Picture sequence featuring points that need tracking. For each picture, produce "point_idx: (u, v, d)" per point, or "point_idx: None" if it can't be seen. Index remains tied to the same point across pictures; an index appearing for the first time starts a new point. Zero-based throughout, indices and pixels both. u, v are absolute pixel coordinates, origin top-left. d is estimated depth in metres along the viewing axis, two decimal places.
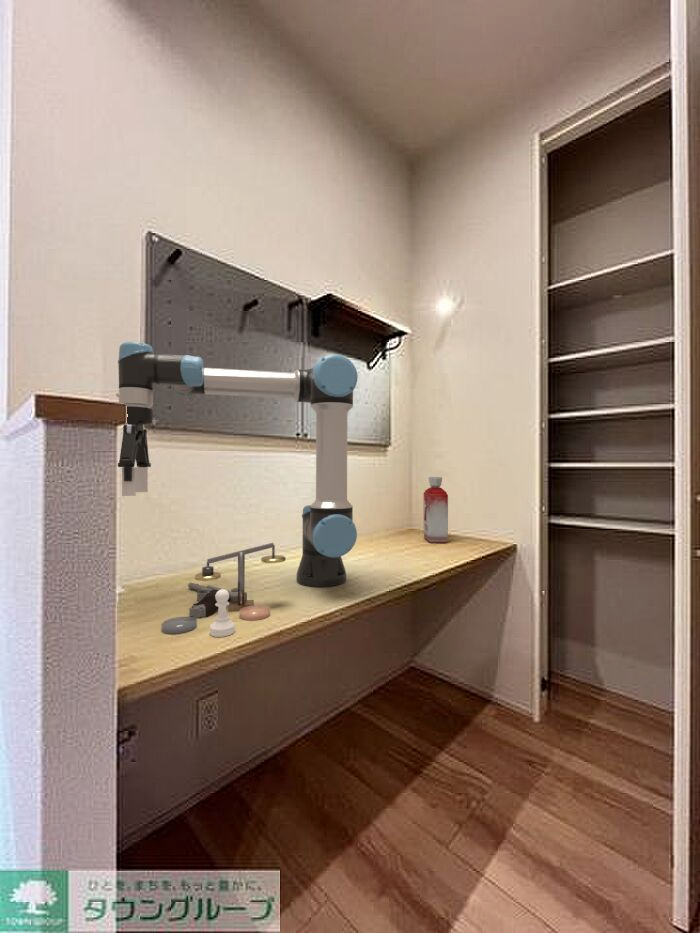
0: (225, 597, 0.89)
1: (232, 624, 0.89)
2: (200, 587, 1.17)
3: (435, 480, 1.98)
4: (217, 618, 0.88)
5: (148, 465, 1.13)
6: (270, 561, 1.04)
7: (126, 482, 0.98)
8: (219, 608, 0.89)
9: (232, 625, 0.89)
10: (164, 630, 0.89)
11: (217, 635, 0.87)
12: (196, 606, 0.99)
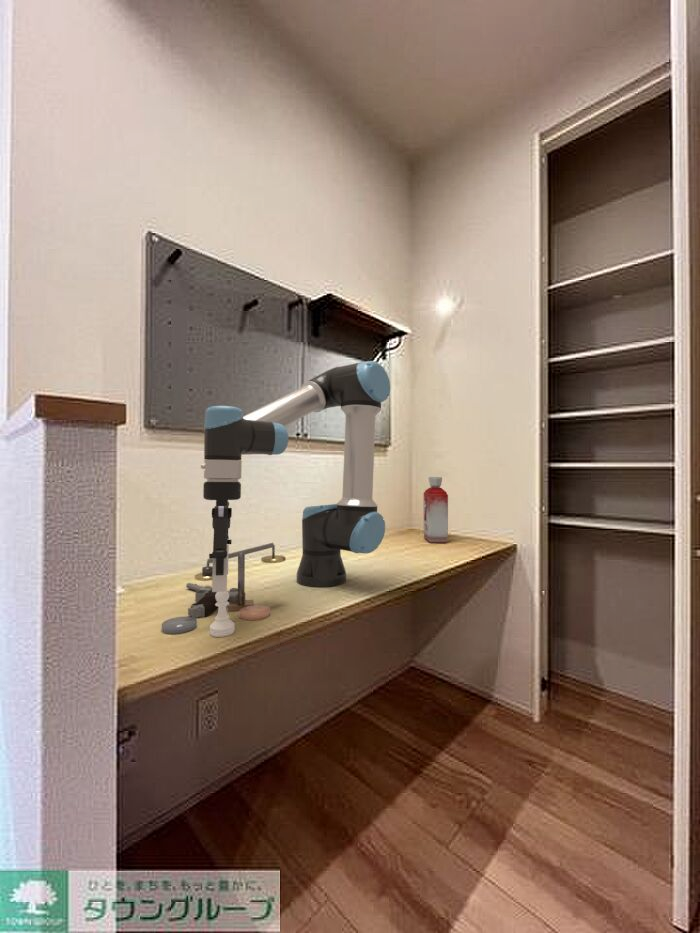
0: (225, 597, 0.89)
1: (232, 624, 0.89)
2: (198, 587, 1.17)
3: (435, 480, 1.98)
4: (217, 618, 0.88)
5: (229, 542, 0.97)
6: (270, 561, 1.04)
7: (217, 575, 0.82)
8: (219, 608, 0.89)
9: (232, 625, 0.89)
10: (164, 630, 0.89)
11: (217, 635, 0.87)
12: (195, 606, 0.99)
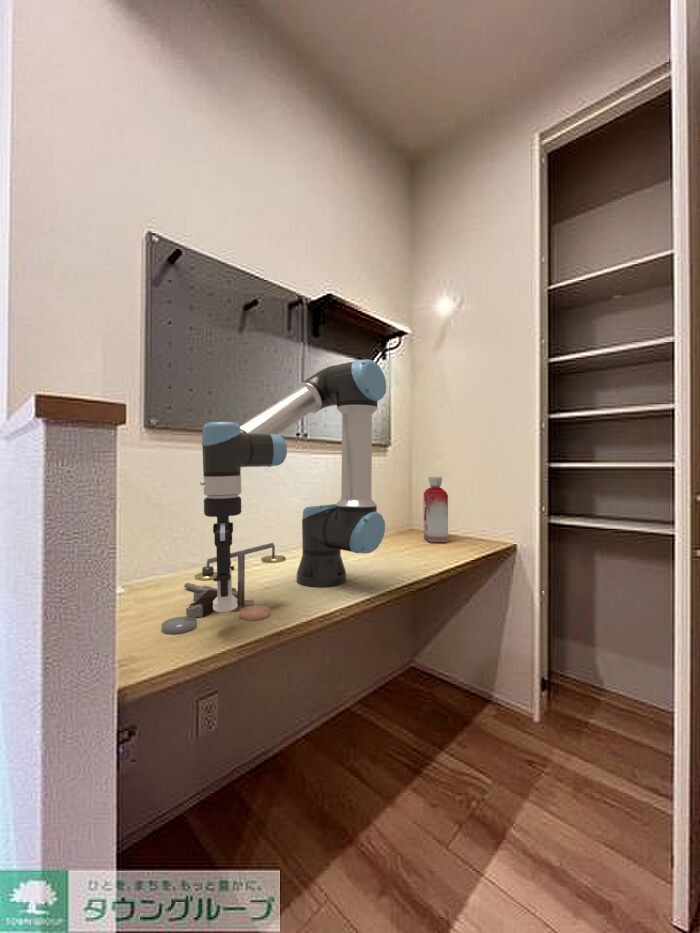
0: None
1: (235, 599, 0.90)
2: (196, 587, 1.17)
3: (435, 480, 1.98)
4: None
5: (231, 568, 0.94)
6: (270, 561, 1.04)
7: (222, 597, 0.87)
8: None
9: (235, 600, 0.90)
10: (164, 630, 0.89)
11: None
12: (193, 606, 0.99)
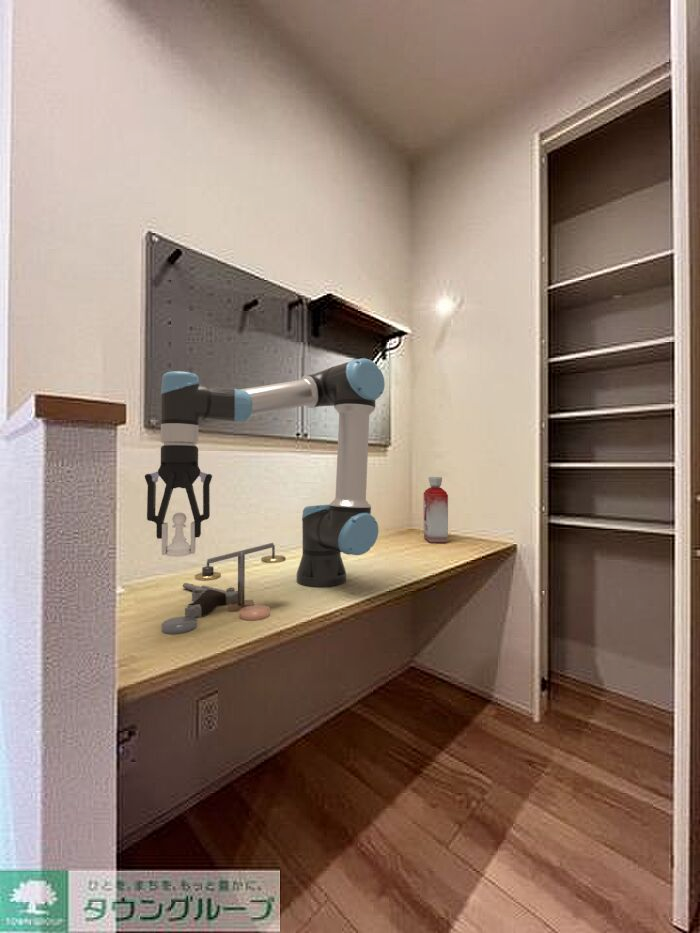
0: (173, 519, 0.91)
1: (173, 547, 0.90)
2: (195, 587, 1.17)
3: (435, 480, 1.98)
4: None
5: (195, 520, 0.91)
6: (270, 561, 1.04)
7: None
8: None
9: (172, 548, 0.90)
10: (164, 630, 0.89)
11: None
12: (192, 606, 0.99)
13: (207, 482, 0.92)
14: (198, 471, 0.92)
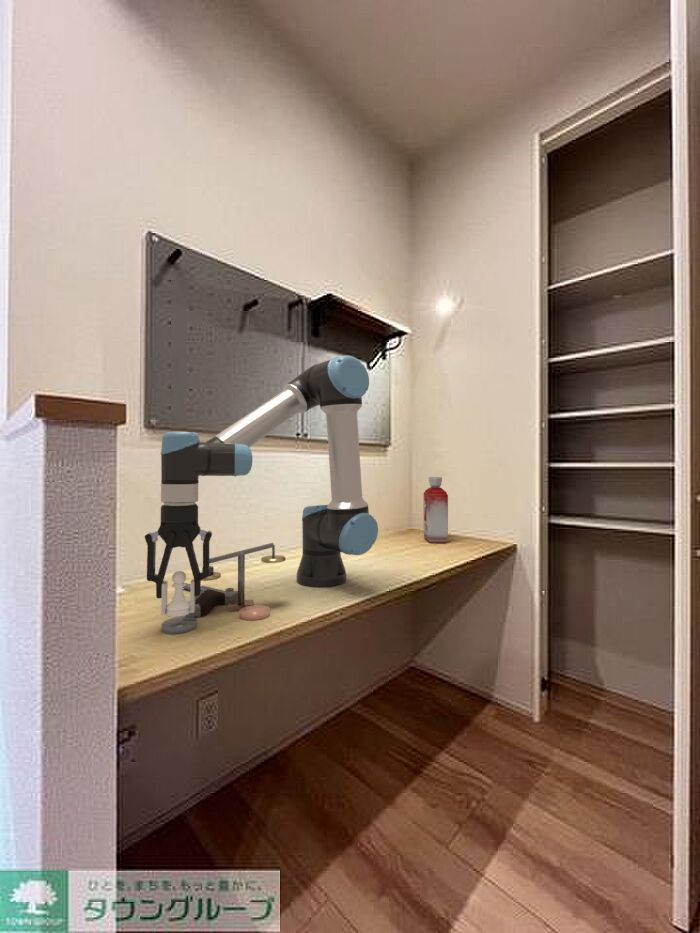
0: (172, 578, 0.91)
1: (173, 608, 0.90)
2: None
3: (435, 480, 1.98)
4: None
5: (195, 579, 0.91)
6: (270, 561, 1.04)
7: None
8: None
9: (171, 608, 0.90)
10: (164, 630, 0.89)
11: None
12: None
13: (207, 541, 0.92)
14: (198, 530, 0.92)
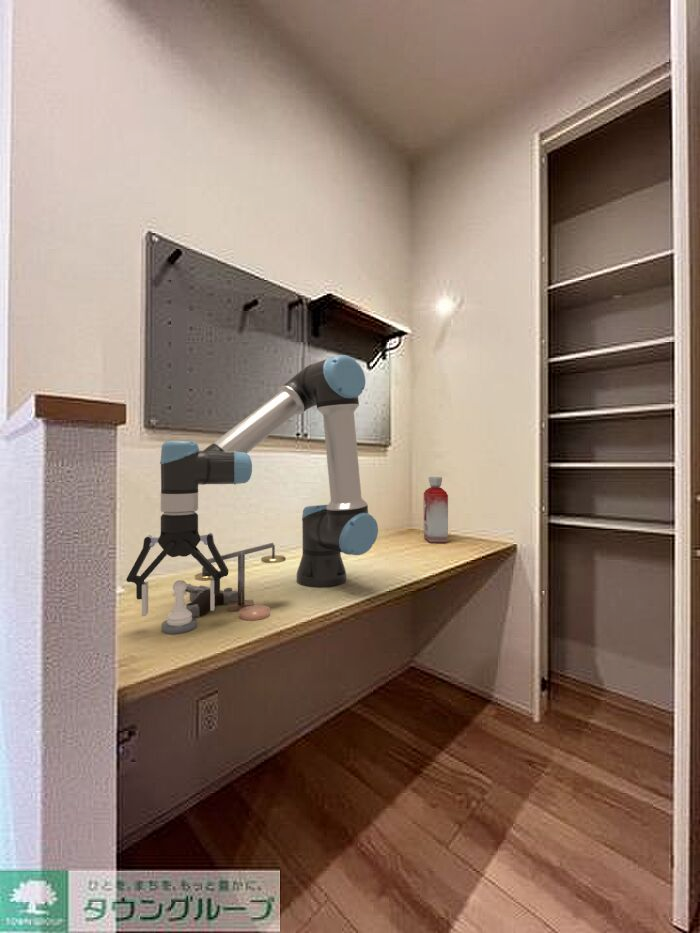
0: (173, 587, 0.91)
1: (174, 617, 0.90)
2: (192, 587, 1.17)
3: (435, 479, 1.98)
4: None
5: (215, 578, 0.93)
6: (270, 561, 1.04)
7: None
8: None
9: (172, 618, 0.90)
10: (164, 630, 0.89)
11: None
12: (189, 606, 0.99)
13: (211, 543, 0.93)
14: (197, 537, 0.92)
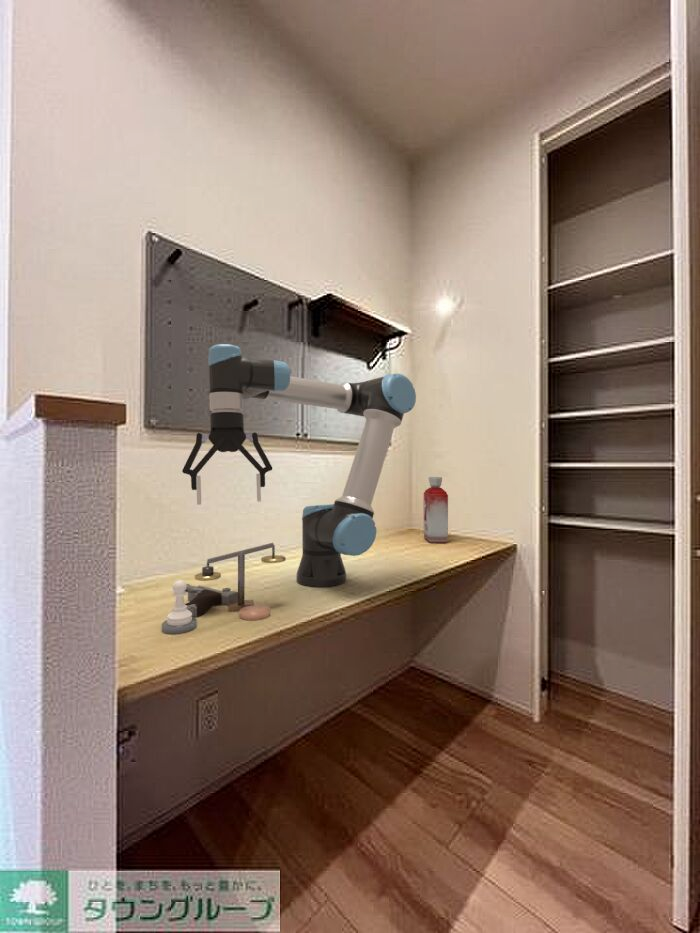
0: (173, 587, 0.91)
1: (174, 617, 0.90)
2: (191, 587, 1.17)
3: (435, 480, 1.98)
4: None
5: (261, 472, 1.01)
6: (270, 561, 1.04)
7: None
8: None
9: (172, 618, 0.90)
10: (164, 630, 0.89)
11: None
12: (187, 606, 0.99)
13: (256, 440, 1.01)
14: (244, 434, 1.01)
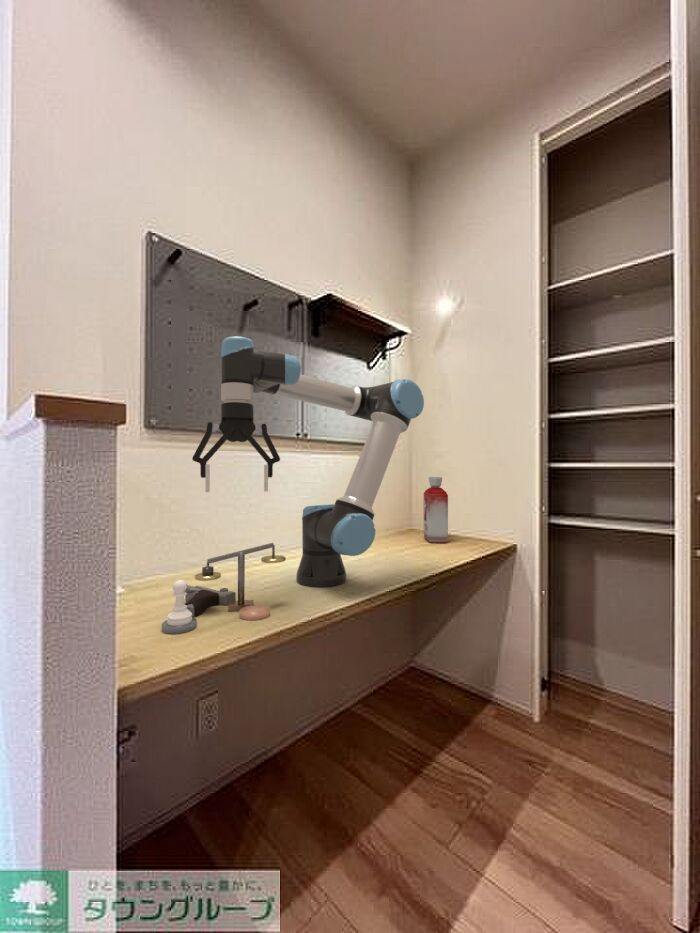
0: (173, 587, 0.91)
1: (174, 617, 0.90)
2: (189, 587, 1.17)
3: (435, 480, 1.98)
4: None
5: (269, 462, 1.03)
6: (270, 561, 1.04)
7: None
8: None
9: (172, 618, 0.90)
10: (164, 630, 0.89)
11: None
12: None
13: (265, 431, 1.03)
14: (253, 425, 1.03)
